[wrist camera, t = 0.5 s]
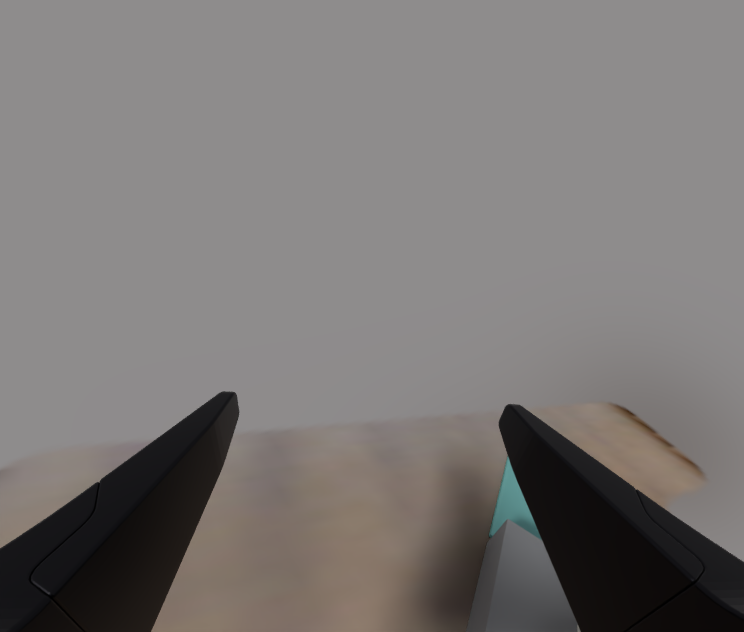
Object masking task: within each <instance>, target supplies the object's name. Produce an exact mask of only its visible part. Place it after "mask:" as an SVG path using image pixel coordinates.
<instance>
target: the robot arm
mask: <svg viewBox="0 0 744 632" xmlns="http://www.w3.org/2000/svg"><path fill="white" fill-rule="evenodd" d="M238 417H239V407H238V400H237V395H236V393H235V392H225V391H224V392H221V393H219V394H217V395H216V396H215V397H213V398H212V399H211V400H209V401H208V402H206V403H205V404H204V405H202V406H201V407H200V408H198V409H197V410H195V411H194V412H193V413H192V414H190V415H189V416H187V417H186V418H185V419H183V420H182V421H180V422H179V423H178V424H176V425H175V426H173V427H172V428H171V429H169V430H168V431H167V432H165V433H164V434H163V435H161V436H160V437H158V438H157V439H156V440H154V441H153V442H152V443H150V444H149V445H147V446H146V447H145V448H143V449H142V450H141V451H139V452H138V453H136V454H135V455H134V456H132V457H131V458H130V459H128V460H127V461H125V462H124V463H123V464H121V465H120V466H119V467H117V468H116V469H114V470H113V471H112V472H110V473H109V474H108V475H106V476H105V477H103V478H102V479H101V480H100V483H99V482H97V483H95V484H94V485H92V486H91V487H90V488H88V489H87V490H85V491H84V492H83V493H81V494H80V495H79V496H77V497H76V498H74V499H73V500H71V501H70V502H69V503H67V504H66V505H64V506H63V507H62V508H60V509H59V510H57V511H56V512H54V513H53V514H52V515H50V516H49V517H47V518H46V519H44V520H43V521H41V522H40V523H38V524H37V525H35V526H34V527H32V528H31V529H29V530H28V531H26V532H25V533H23V534H22V535H20V536H19V537H17V538H16V539H14V540H13V541H11V542H10V543H8V544H6V545H5V546H3V547H2V548H0V632H151V630H152V628H153V626H154V624H155V621H156V619H157V617H158V614H159V612H160V610H161V608H162V605H163V603H164V601H165V598H166V596H167V594H168V592H169V589H170V587H171V585H172V582H173V580H174V578H175V576H176V573H177V571H178V569H179V566H180V564H181V562H182V559H183V557H184V555H185V553H186V550H187V548H188V546H189V543H190V541H191V539H192V537H193V534H194V532H195V530H196V527H197V525H198V523H199V521H200V518H201V516H202V514H203V511H204V509H205V507H206V504H207V502H208V500H209V498H210V495H211V493H212V491H213V488H214V486H215V484H216V482H217V479H218V477H219V475H220V472H221V470H222V467H223V465H224V462H225V459H226V456H227V452H228V449H229V446H230V443H231V440H232V437H233V433H234V430H235V426H236V424H237V420H238ZM499 429H500V432H501V435H502V438H503V441H504V445H505V448H506V451H507V454H508V457H509V461H510V464H511V467H512V470H513V472H514V475H515V477H516V480H517V482H518V485H519V487H520V489H521V492H522V494H523V496H524V499H525V501H526V504H527V506H528V508H529V511H530V513H531V515H532V518H533V520H534V522H535V525H536V527H537V530H538V532H539V534H540V537H541V539H542V541H543V544H544V546H545V548H546V551H547V553H548V556H549V558H550V560H551V563H552V565H553V567H554V570H555V572H556V574H557V577H558V579H559V582H560V584H561V586H562V589H563V591H564V593H565V596H566V598H567V600H568V603H569V605H570V608H571V610H572V612H573V615H574V617H575V619H576V622H577V624H578V626H579V629H580V631H581V632H744V562H743V561H741V560H740V559H738V558H737V557H735V556H733V555H732V554H731V553H729V552H728V551H726V550H724V549H723V548H722V547H720V546H719V545H717V544H715V543H714V542H713V541H711V540H710V539H708V538H706V537H705V536H703V535H702V534H700V533H699V532H697V531H696V530H694V529H693V528H691V527H690V526H689V525H687V524H686V523H684V522H683V521H681V520H679V519H678V518H677V517H675V516H674V515H672V514H671V513H670V512H668V511H667V510H665V509H664V508H662V507H661V506H660V505H658V504H657V503H655V502H654V501H652V500H651V499H650V498H648V497H647V496H646V495H644V494H643V493H641V492H640V491H639V490H635V488H634V487H633V486H632V485H630V484H629V483H627V482H626V481H625V480H623V479H622V478H621V477H619V476H618V475H616V474H615V473H614V472H612V471H611V470H609V469H608V468H607V467H605V466H604V465H603V464H601V463H600V462H598V461H597V460H596V459H594V458H593V457H591V456H590V455H589V454H587V453H586V452H584V451H583V450H582V449H580V448H579V447H578V446H576V445H575V444H573V443H572V442H571V441H569V440H568V439H566V438H565V437H564V436H562V435H561V434H560V433H558V432H557V431H555V430H554V429H553V428H551V427H550V426H548V425H547V424H546V423H544V422H543V421H541V420H540V419H539V418H537V417H536V416H535V415H533V414H532V413H530V412H529V411H528V410H526V409H525V408H523V407H522V406H520V405H515V404H508V405H507V406H506V407H505V409H504V411H503V413H502V415H501V418H500V420H499Z"/></svg>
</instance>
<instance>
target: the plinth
mask: <svg viewBox="0 0 744 632" xmlns="http://www.w3.org/2000/svg"><path fill="white" fill-rule="evenodd" d="M466 632H577V622H576V619H575V617H574V615H573V612H572V610H571V608H570V605H569V603H568V600H567V598H566V596H565V593H564V591H563V589H562V586H561V584H560V582H559V579H558V577H557V574H556V572H555V570H554V567H553V565H552V563H551V560H550V558H549V556H548V553H547V551H546V548H545V546H544V544H543V541H542V540H540V539H539V538H537V537H536V536H534V535H532V534H531V533H529V532H528V531H526V530H525V529H523V528H522V527H520V526H519V525H517V524H515V523H514V522H512V521H511V520H509V519H507V520H506V521H505V522H504V523H503V525H502V526H501V527H500V528H499V529H498V531H497V532H496V533H495V534H494V535H493V536H492V538H491V539H490V540H489V541H488V542H487V545H486V549H485V553H484V558H483V562H482V566H481V570H480V574H479V579H478V583H477V587H476V591H475V596H474V600H473V604H472V608H471V612H470V617H469V621H468V625H467V629H466Z"/></svg>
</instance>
